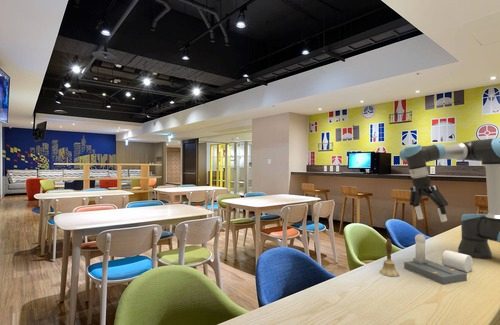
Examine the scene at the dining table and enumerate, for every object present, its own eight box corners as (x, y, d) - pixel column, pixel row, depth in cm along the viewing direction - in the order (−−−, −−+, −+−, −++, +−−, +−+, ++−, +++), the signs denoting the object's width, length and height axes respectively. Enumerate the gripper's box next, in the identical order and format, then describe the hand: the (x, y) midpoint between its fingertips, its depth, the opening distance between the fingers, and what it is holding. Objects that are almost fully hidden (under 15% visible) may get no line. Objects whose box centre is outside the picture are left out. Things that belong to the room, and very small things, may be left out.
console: (425, 265, 143) (425, 259, 143) (466, 280, 124) (466, 273, 124) (404, 268, 139) (404, 261, 139) (442, 284, 120) (442, 277, 120)
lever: (420, 260, 141) (420, 232, 142) (428, 263, 137) (428, 235, 137) (412, 261, 140) (412, 233, 140) (420, 264, 135) (420, 235, 136)
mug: (464, 274, 132) (464, 256, 132) (441, 267, 141) (441, 251, 141) (476, 269, 138) (476, 252, 138) (454, 263, 147) (453, 247, 147)
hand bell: (375, 271, 135) (375, 237, 135) (388, 269, 138) (388, 236, 138) (390, 277, 127) (389, 242, 127) (403, 275, 130) (403, 240, 130)
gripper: (395, 179, 148) (406, 220, 146) (435, 176, 124) (448, 224, 122) (407, 176, 150) (418, 216, 148) (449, 172, 125) (462, 220, 124)
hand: (431, 220), depth 135 cm, fingers open, 13 cm apart
